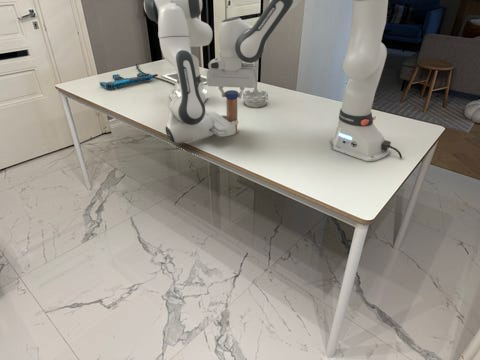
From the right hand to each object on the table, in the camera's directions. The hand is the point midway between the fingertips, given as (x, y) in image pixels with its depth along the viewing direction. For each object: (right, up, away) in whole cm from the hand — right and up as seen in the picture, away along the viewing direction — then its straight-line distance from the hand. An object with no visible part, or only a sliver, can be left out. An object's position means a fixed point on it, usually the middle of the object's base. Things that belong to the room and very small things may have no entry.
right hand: (231, 97), depth 140 cm
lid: (0, +1, -1) cm, 2 cm away
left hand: (+1, -8, +6) cm, 10 cm away
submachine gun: (-66, +27, +70) cm, 100 cm away
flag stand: (+11, +6, +38) cm, 40 cm away
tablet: (-29, +30, +75) cm, 86 cm away
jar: (0, -13, +9) cm, 16 cm away
